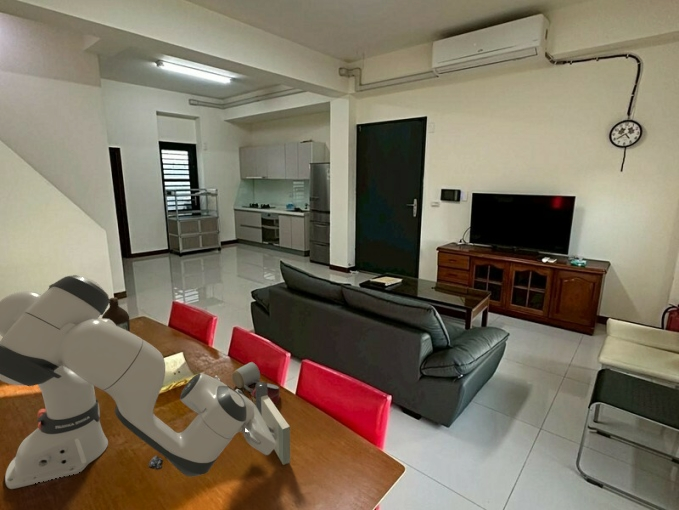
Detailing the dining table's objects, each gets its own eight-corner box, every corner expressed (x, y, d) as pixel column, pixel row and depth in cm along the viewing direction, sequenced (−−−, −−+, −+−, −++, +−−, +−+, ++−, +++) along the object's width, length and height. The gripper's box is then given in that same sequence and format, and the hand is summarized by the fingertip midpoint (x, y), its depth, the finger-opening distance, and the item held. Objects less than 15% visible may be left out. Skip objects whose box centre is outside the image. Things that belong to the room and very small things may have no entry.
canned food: (252, 408, 133) (246, 380, 135) (279, 399, 136) (273, 372, 139) (255, 411, 123) (249, 381, 125) (284, 402, 126) (278, 373, 128)
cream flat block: (261, 428, 114) (260, 396, 112) (268, 426, 115) (267, 394, 113) (283, 465, 99) (282, 429, 97) (290, 462, 101) (289, 426, 98)
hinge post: (259, 430, 114) (257, 389, 111) (255, 424, 117) (253, 384, 114) (270, 426, 116) (269, 386, 113) (265, 420, 119) (264, 380, 116)
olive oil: (102, 351, 165) (96, 298, 160) (128, 344, 172) (123, 293, 168) (108, 359, 158) (102, 304, 153) (135, 351, 165) (130, 298, 160)
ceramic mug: (231, 385, 139) (230, 366, 137) (249, 376, 145) (248, 359, 144) (248, 396, 132) (247, 377, 131) (266, 387, 139) (265, 368, 137)
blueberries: (165, 452, 106) (164, 445, 106) (177, 464, 100) (176, 458, 100) (140, 464, 101) (139, 458, 101) (150, 478, 96) (149, 471, 95)
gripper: (256, 426, 88) (295, 449, 94) (236, 385, 105) (269, 407, 112) (238, 448, 86) (278, 470, 93) (220, 403, 104) (255, 424, 110)
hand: (273, 435), depth 103 cm, fingers closed
